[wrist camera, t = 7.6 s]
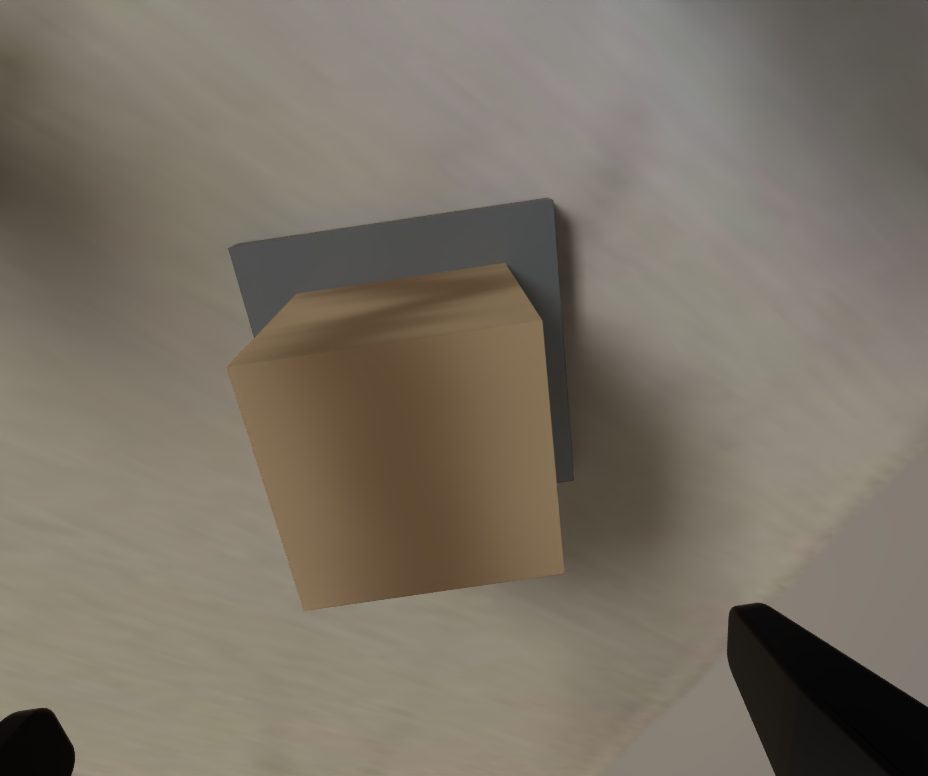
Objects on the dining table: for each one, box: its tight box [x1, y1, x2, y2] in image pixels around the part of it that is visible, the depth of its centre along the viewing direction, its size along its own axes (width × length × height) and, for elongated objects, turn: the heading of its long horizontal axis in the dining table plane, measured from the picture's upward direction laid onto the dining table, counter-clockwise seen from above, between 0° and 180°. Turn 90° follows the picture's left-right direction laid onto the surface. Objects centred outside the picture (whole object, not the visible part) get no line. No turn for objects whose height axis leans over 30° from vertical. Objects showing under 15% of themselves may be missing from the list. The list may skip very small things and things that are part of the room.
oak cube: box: [227, 263, 564, 611], centre depth 15 cm, size 6×6×6 cm
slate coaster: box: [228, 198, 574, 483], centre depth 18 cm, size 9×9×1 cm
